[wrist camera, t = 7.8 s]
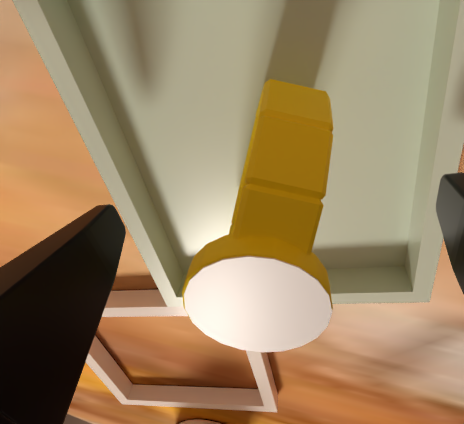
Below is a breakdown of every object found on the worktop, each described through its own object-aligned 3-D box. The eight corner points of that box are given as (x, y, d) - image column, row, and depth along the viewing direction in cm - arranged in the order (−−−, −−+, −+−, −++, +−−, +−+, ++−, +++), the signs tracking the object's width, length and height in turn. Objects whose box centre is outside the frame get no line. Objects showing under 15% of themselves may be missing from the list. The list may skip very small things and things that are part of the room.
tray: (489, -172, 7) (535, -194, 5) (417, 268, 14) (429, 302, 12) (35, -42, 9) (-7, -36, 8) (177, 277, 16) (167, 306, 15)
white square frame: (249, 286, 16) (247, 305, 15) (278, 395, 22) (277, 412, 21) (50, 292, 18) (39, 308, 17) (127, 388, 24) (121, 404, 24)
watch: (244, 48, 9) (204, 135, 5) (346, 70, 9) (412, 182, 5) (211, 222, 13) (168, 376, 8) (285, 238, 13) (286, 402, 8)
